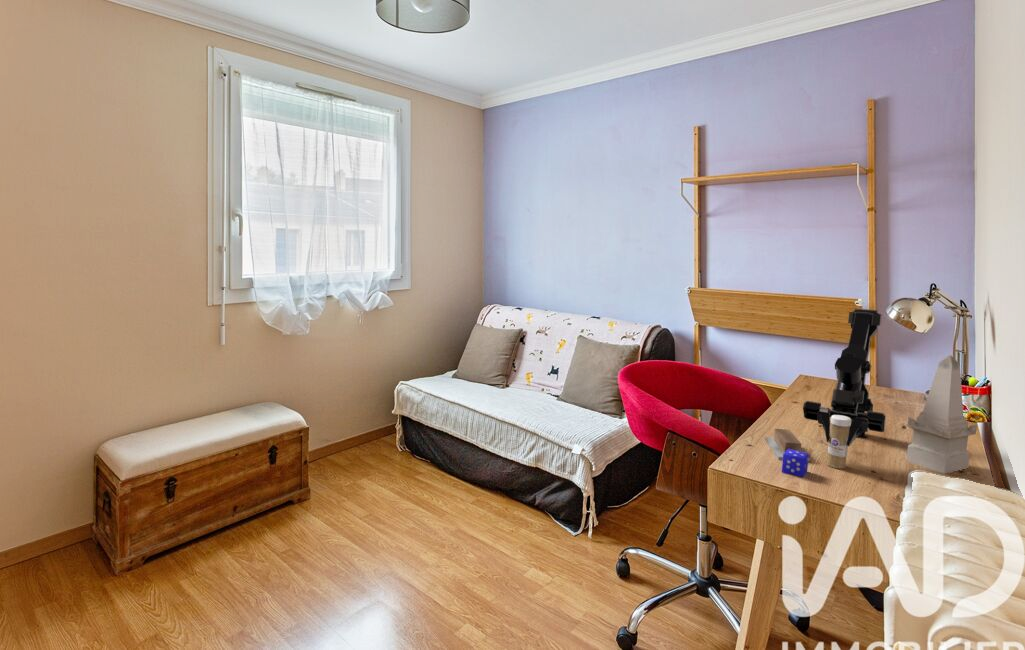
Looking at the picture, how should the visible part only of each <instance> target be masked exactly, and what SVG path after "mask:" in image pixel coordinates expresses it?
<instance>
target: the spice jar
mask: <svg viewBox="0 0 1025 650" xmlns="http://www.w3.org/2000/svg"><path fill="white" fill-rule="evenodd" d="M850 426H851V418H849V417H847V416H842V415H832V416H831V417H830V439H829V442H828V446H827V447H828V448H827V460H826V465H828V466H829V467H831V468H832V469H833V468H834V469H840V470H842V469H845V468H847V464H846V463H847V456H848V450H849V446H847V443H848V438H849V430H850Z"/></svg>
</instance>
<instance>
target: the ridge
mask: <svg viewBox="0 0 1025 650" xmlns="http://www.w3.org/2000/svg"><path fill="white" fill-rule="evenodd" d="M764 440H766V441H765V442H766V443H768V444H767V445H768V446H770V447H769V448H770V449H772V450H771V451H772V452H773V455H774V456H775V457H776V458H777V460H779V459H780V460H781V461H783V454H784V453H785V452H786V451H787V449H791V450H796V451H800V452H805V451H804V450H803V448H802V443H801V441H800V440H799V439H798V438H797V437H796V436H795V434H794V433H793V432H792V431H791V430H790V429H786V428H785V429H783V428H774V434H773V437H769V436H768V437H764ZM780 460H779V461H780ZM811 462H812V461H811V458H810V457H809V458H808V463H811Z"/></svg>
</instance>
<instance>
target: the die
mask: <svg viewBox="0 0 1025 650" xmlns="http://www.w3.org/2000/svg"><path fill="white" fill-rule="evenodd" d="M808 458H810V453H809V452H805V451H804V452H800V451H796V450H791V449H787V451H786V452H785V453H784V454H783V460H782V464H781V473H783V474H786V475H787V474H788V475H791V476H795V477H798V478H799V477H800V478H804V476H805V475H806V474H807V472H808V467H809V466H808V465H809V462H808Z"/></svg>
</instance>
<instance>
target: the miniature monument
mask: <svg viewBox="0 0 1025 650" xmlns="http://www.w3.org/2000/svg"><path fill="white" fill-rule="evenodd" d="M962 390H963V388H962V376H961V364H960V362H959V361H958V360H957V359H955V358H954V357H953V356H952V355H951V354H949V355H948V356H946V357H945V358H944V359H942V360H940V361H939V362H938V364H937V366H936V371H935V373H934V376H933V379H932V382H931V386H930V389H929V392H928V395H927V398H926V402H925V405H924V406H923V407H924V408H923V410H922V411H921V412H919V413H918V416H917V417H916V418H915V419H914V418H912V417H910V416H909V417H908V418H907V427H908V428H910V429H912V430H913V433H912V439H911V440H912V441H911V443H910V444H908V445H907V452H906V459H905V460H906V461H907V462H910V463H913V464H916V465H918V466H920V467H924V468H927V469H930V470H932V471H935V472H938V473H941V474H944V475H945V474H951V473H954V472H953V471H956V472H959V471H958V470H960V469H963V468H967V467H968V468H969V463H970V462H969V461H970V457H971V456H970V455H971V453H970V452H969V451H968V450H967V449H968V441H969V437H970V436H975V435H976V434H977V433H976V432H977V428H978V425H977V424H971V425H969V422H968V421H967V420H968V419H967V417H966V416H964V404H963V391H962ZM960 471H961V470H960Z"/></svg>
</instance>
